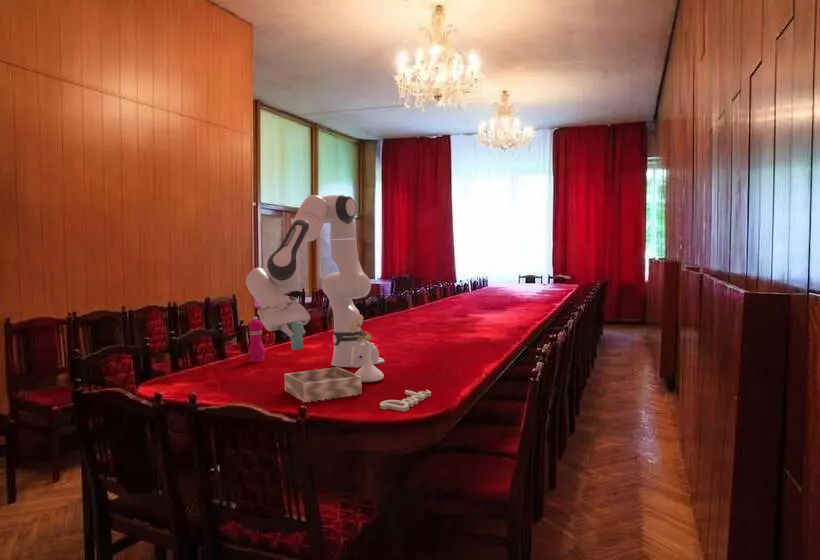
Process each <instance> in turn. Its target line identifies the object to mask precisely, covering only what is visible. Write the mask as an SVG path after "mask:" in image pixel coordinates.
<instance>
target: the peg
mask: <svg viewBox="0 0 820 560" xmlns="http://www.w3.org/2000/svg"><path fill="white" fill-rule="evenodd" d="M290 330H293V331H294V332H295V335H294V337H290V345H291V346H290V347H291V350H293V351H295V350H296V351H297V350H303V349H304V338H303V336H304V335H303V332H302V322H294V323H291V327H290Z"/></svg>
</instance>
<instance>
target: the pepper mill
mask: <svg viewBox="0 0 820 560" xmlns="http://www.w3.org/2000/svg"><path fill="white" fill-rule="evenodd" d="M263 327H264V325H263V323H262V322H261V320H260V319H258V316H256V315H255V316H254V317H253V320H250V322H249V323H248V329H249V330H250V331H249V334H250V337H251V342H250V345H249V348H248V355H249V356H250V357H249V362H250V363H262V361H263V362H264V361H265V356H264V355H265V354H266V348H265V346H264V344H263V343H264V342H263V341H262V334H263V331H262V329H263Z"/></svg>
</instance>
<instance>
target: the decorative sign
mask: <svg viewBox="0 0 820 560" xmlns="http://www.w3.org/2000/svg"><path fill="white" fill-rule="evenodd" d="M405 394H406V396H407V397H406V398H403V399H401V400H398V399H387V400H383V401H380V403H379V408H380V409H381V410H394V411H397V412H404V413H405V412H407V411H410V410H409V409H410V408H411V407H414V406H415V405H418V404H419V403H418V402H420V401H425V400H424V399H425V398H426V399H428V398H427V397H432V391H430V390H428V389H425V391H424V390H423V391H417V392H415V391H413V390H410V389H409V390H407V389H406V390H404V395H405ZM408 395H409V396H408Z"/></svg>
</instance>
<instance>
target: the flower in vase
mask: <svg viewBox="0 0 820 560" xmlns="http://www.w3.org/2000/svg"><path fill="white" fill-rule="evenodd" d="M363 322H364V316H363V315H362V314H360V316H359V315H358V316H357V317H356V319H355V321H353V322H352V323H353V324H352V325H351V326H350V328H349V329H351V330H350V332H352V333H354V332H356V331H357V330H358V329H359V327H360V330H361V331H362V334H363V332H364V331H363V329H362V327H361V326H362V325H363ZM363 338H364V339H365V341H366V343H362V344H361V346H362V347H363V349H364V353H365V363H364V365H363V366H362V367H359V369H358V370H357V371H355V373H354V374H356V375H359V376H361V382H362V383H373V382H378V381H381V380H382V379H383V378H384V377H385V375H384V373H383V372H382V371H381V370H380V369H378V367H376V366H375V364H374V365H373V364H372V362H371V351H372V347H373V345H374V346H375V342H374V343H373V342H370V343H367V341H368V342H369V341H370V340H372V333H371V332H368V335H366V336H364V334H363V336H360V337H359V338H358V339H357V340H356V342H361V341H362V339H363Z"/></svg>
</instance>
